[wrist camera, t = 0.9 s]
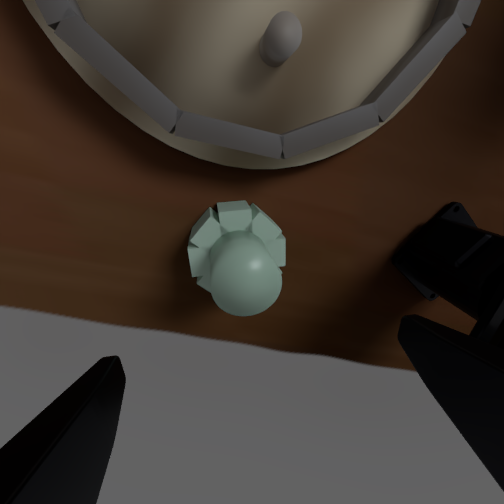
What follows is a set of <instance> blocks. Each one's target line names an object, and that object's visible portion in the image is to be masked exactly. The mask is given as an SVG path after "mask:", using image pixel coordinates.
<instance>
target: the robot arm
mask: <svg viewBox="0 0 504 504" xmlns="http://www.w3.org/2000/svg"><path fill="white" fill-rule="evenodd" d="M454 208H455V209H454ZM399 259H400V260H399ZM398 260H399V261H398ZM392 264H393V265H394V266H395V267H396V268H397V269H398V270H399V271H400V272H401V273H402V274H403V275H404V276H405V277H406V278H407V279H408V280H409V281H410V282H411V283H412V284H413V285H414V287H415V288H416V289H417V290H418V291H419V292H420V293H421V294H422V295H423V296H424V297H425V298H426V299H428V300H430V301H432V300H434V299H436V298H437V297H438V296H440V297H442V298H443V299H445V300H447V301H448V302H450V303H451V304H453V305H454V306H456V307H457V308H459V309H460V310H462V311H463V312H465V313H466V314H468V315H469V316H471V317H472V318H474V319H475V320H477V322H476V324H475V326H474V328H473V329H472V331H471V333H470V335H466V334H464V333H461V332H459V331H456V330H454V329H451V328H449V327H446V326H444V325H441V324H439V323H436V322H434V321H431V320H429V319H426V318H424V317H422V316H419V315H416V314H413V315H406V316H403V317H402V319H401V323H400V327H399V331H398V340H399V343H400V344H401V346H402V348H403V349H404V351H405V353H406V354H407V356H408V358H409V359H410V361H411V362H412V364H413V366H414V367H415V369H416V371H417V372H418V374H419V376H420V377H421V379H422V380H423V382H424V383H425V385H426V386H427V388H428V389H429V391H430V392H431V393H432V395H433V396H434V398H435V399H436V400H437V402H438V403H439V404H440V406H441V407H442V408H443V410H444V411H445V413H446V414H447V415H448V417H449V418H450V419H451V421H452V422H453V423H454V425H455V426H456V428H457V429H458V430H459V431H460V433H461V434H462V436H463V437H464V438H465V440H466V441H467V442H468V444H469V445H470V446H471V448H472V449H473V451H474V452H475V453H476V455H477V456H478V457H479V459H480V460H481V461H482V463H483V464H484V465H485V467H486V468H487V470H488V471H489V472H490V474H491V475H492V476H493V478H494V479H495V480H496V482H497V483H498V484H499V486H500V487H501V489H502V490H503V491H504V236H501V235H498V234H495V233H492V232H489V231H486V230H482V229H479V228H477V226H476V225H475V223H474V222H473V220H472V219H471V217H470V216H469V214H468V213H467V211H466V210H465V208H464V207H463V205H462V204H461V203H458V202H451V203H450V204H448V205H447V206H446V207H445V208H444V209H443V210H442V211H441V212H440V213H439V214H438V215H437V216H436V217H435V218H434V219H432V220H431V221H430V222H429V223H428V224H427V225H426V226H425V227H424V228H423V229H422V230H421V231H420V232H419V233H418V234H417V235H416V236H414V237H413V238H412V239H411V240H410V241H409V242H408V243H407V244H406V245H405V246H404V247H403V248H402V249H401V250H400V251H399V252H398V253H396V254H395V255H394V256H393V258H392ZM125 383H126V377H125V373H124V370H123V367H122V364H121V361H120V358H119V357H118V356H109V357H103V358H101V359H100V360H99V361H98V362H97V363H95V364H94V365H93V366H92V367H91V368H90V369H89V370H88V371H87V372H85V374H83V375H82V376H81V377H80V378H79V379H78V380H77V381H75V382H74V383H73V384H72V385H71V386H70V387H69V388H68V389H66V390H65V391H64V392H63V393H62V394H61V395H60V396H59V397H57V398H56V399H55V400H54V401H53V402H52V403H51V404H50V405H49V406H47V407H46V408H45V409H44V410H43V411H42V412H41V413H40V414H38V415H37V416H36V417H35V418H34V419H33V420H32V421H31V422H30V423H29V424H27V425H26V426H25V427H24V428H23V429H22V430H21V431H20V432H18V433H17V434H16V435H15V436H14V437H13V438H12V439H11V440H9V441H8V442H7V443H6V444H5V445H4V446H3V447H2V448H1V449H0V504H96V502H97V499H98V496H99V492H100V489H101V485H102V482H103V479H104V475H105V472H106V469H107V465H108V462H109V458H110V455H111V451H112V448H113V444H114V440H115V436H116V431H117V426H118V421H119V415H120V410H121V405H122V400H123V394H124V389H125Z"/></svg>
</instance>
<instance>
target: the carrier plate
mask: <svg viewBox="0 0 504 504" xmlns="http://www.w3.org/2000/svg"><path fill="white" fill-rule="evenodd" d="M23 2H24V4H25V5H26V7H27V9H28V10H29V12H30V13H31V15H32V16H33V17H34V19H35V20H36V22H37V23H38V24H39V26H40V27H41V28H42V30H43V31H44V33H45V34H46V35H47V37H48V38H49V39H50V41H51V42H52V44H53V45H54V46H55V48H56V49H57V50H58V52H59V53H60V54H61V55H62V56H63V57H64V58H65V60H66V61H67V62H68V63H69V64H70V65H71V66H72V67H73V69H74V70H75V71H76V72H77V73H78V74H79V75H80V77H81V78H82V79H83V80H84V81H85V82H86V83H87V84H88V85H89V86H90V87H91V88H92V89H93V90H94V91H95V92H96V93H98V94H99V95H100V96H101V97H102V98H103V99H104V100H105V101H106V102H107V103H108V104H109V105H111V106H112V107H113V108H114V109H115V110H116V111H118V112H119V113H120V114H122V115H123V116H124V117H126V118H127V119H128V120H130V121H131V122H132V123H134V124H135V125H136V126H138V127H139V128H140V129H142V130H143V131H145V132H147V133H148V134H150V135H152V136H153V137H155V138H157V139H159V140H160V141H162V142H164V143H166V144H167V145H169V146H171V147H173V148H175V149H178V150H180V151H183V152H185V153H187V154H190V155H192V156H194V157H197V158H199V159H203V160H207V161H210V162H214V163H217V164H221V165H225V166H232V167H239V168H246V169H280V168H287V167H294V166H301V165H304V164H308V163H311V162H315V161H318V160H322V159H325V158H327V157H329V156H332V155H334V154H336V153H339V152H341V151H343V150H345V149H348V148H349V147H351V146H353V145H354V144H356V143H358V142H359V141H361V140H363V139H364V138H366V137H368V136H369V135H371V134H372V133H373V132H375V131H376V130H377V129H378V128H380V127H381V126H382V125H384V124H385V123H386V122H388V121H389V120H390V119H391V118H392V117H393V116H395V115H396V114H397V113H398V112H399V111H400V110H401V109H402V108H403V107H404V106H405V105H406V104H407V103H408V102H409V101H410V100H411V99H412V98H413V97H414V96H415V94H416V93H417V92H418V91H419V90H420V88H421V87H422V86H423V85H424V84H425V82H426V81H427V80H428V79H429V78H430V77H431V75H432V74H433V73H434V71H435V70H436V68H437V67H438V65H439V64H440V62H441V61H442V59H443V58H444V57H445V55H446V54H447V53H448V52H449V51H450V50H451V49H452V48H453V46H454V45H455V44H456V43H457V42H458V41H459V40H460V39H461V38H462V37H463V36H464V35H465V33H466V30H465V28H468V27H470V26H471V23H472V21H473V19H474V16H475V14H476V11H477V9H478V7H479V4H480V2H481V0H23Z"/></svg>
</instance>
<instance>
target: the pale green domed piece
mask: <svg viewBox="0 0 504 504" xmlns="http://www.w3.org/2000/svg"><path fill="white" fill-rule="evenodd" d="M217 209H218V213H217V212H216V211H215V210H213V209H212V208H211V207H209V208H208V209H207V210H206V212H205V213H204V214H203V215H202V216H201V218H200V219H199V220H198V221H197V222H196V224H195V225H194V226H193V227H192V230H191V235H190V237H189V243H188V255H189V261H190V267H191V273H192V277H197V284H198V285H199V286H201V287H203V288H204V289H206V290H207V291H209V292H210V293H211V294H212V297H213V300H214V301H215V303H216V304H217V305H218V306H219V307H220V308H221V309H222V310H223V311H225V312H227V313H229V314H232V315H236V316H250V315H255V314H258V313H260V312H262V311H264V310H266V309H267V308H269V307H270V306H271V305H272V304H273V303H274V302H275V300H276V299H277V298H278V296H279V294H280V291H281V287H282V277H281V274H282V271H281V270H280V268H279V266H285V237H284V236H283V235H282V234H281V232H282V230H281V229H280V228H279V227H278V226H277V225H276V223H275V222H274V221H273V220H272V219H271V218H270V217H269V216H267V215H266V214H265V213H264V212H263V211H262V210H261V209H259V208H258V207H257V206H256V205H255V204H254V203H252V204H251V205H250V206H249V205H248V204H247V202H246V201H245V200H243V201H232V202H220V203H217Z"/></svg>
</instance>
